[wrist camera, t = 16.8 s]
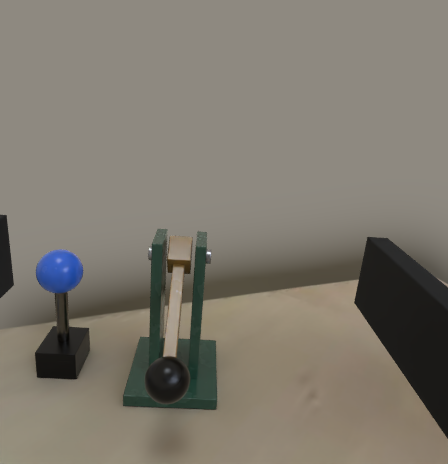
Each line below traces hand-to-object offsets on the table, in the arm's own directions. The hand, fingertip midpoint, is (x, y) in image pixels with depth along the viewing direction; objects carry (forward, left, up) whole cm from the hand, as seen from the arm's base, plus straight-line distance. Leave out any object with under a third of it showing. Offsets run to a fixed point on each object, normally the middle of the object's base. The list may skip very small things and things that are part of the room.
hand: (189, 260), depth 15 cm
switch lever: (+2, -19, -14) cm, 24 cm away
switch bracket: (+2, -23, -23) cm, 33 cm away
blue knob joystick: (+14, -24, -23) cm, 36 cm away
